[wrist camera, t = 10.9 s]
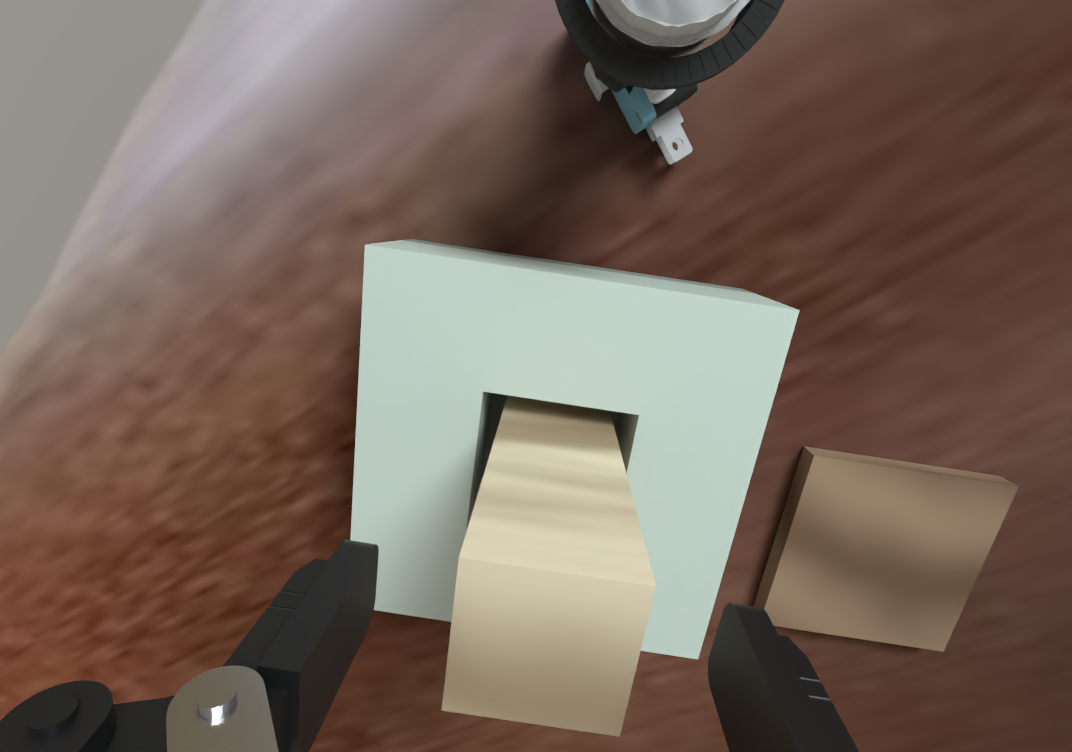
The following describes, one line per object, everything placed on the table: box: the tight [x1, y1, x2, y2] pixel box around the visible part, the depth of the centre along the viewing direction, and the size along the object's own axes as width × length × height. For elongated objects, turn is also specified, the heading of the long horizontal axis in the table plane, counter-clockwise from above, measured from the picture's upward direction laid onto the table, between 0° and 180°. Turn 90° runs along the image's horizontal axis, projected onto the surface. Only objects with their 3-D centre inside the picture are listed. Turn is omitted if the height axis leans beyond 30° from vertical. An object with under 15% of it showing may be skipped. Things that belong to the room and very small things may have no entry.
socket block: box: [350, 239, 800, 659], centre depth 21 cm, size 14×14×6 cm
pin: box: [442, 395, 656, 737], centre depth 17 cm, size 4×4×12 cm
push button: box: [555, 0, 784, 164], centre depth 15 cm, size 7×5×10 cm
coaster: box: [753, 446, 1018, 652], centre depth 25 cm, size 9×9×1 cm
